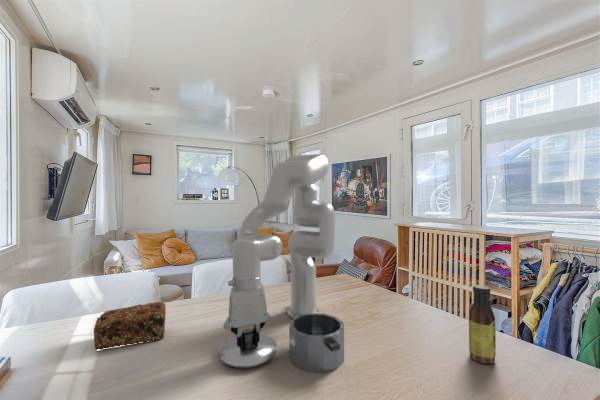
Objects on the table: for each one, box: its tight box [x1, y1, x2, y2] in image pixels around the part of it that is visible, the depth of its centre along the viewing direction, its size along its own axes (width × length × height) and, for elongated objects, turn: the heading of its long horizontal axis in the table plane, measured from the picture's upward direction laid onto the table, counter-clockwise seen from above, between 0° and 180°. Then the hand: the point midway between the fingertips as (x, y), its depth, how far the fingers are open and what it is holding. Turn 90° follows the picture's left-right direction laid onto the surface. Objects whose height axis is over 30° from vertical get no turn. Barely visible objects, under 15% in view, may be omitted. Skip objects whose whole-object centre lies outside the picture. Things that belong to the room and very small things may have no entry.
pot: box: [288, 312, 345, 374], centre depth 81 cm, size 20×15×9 cm
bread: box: [93, 301, 167, 351], centre depth 90 cm, size 19×11×10 cm, turn 112°
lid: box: [218, 328, 278, 369], centre depth 81 cm, size 16×16×5 cm
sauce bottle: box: [468, 284, 497, 365], centre depth 79 cm, size 6×6×20 cm
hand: (248, 345), depth 81 cm, fingers closed on lid, 3 cm apart
